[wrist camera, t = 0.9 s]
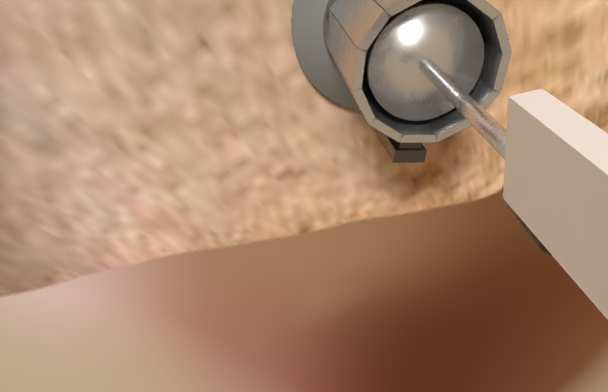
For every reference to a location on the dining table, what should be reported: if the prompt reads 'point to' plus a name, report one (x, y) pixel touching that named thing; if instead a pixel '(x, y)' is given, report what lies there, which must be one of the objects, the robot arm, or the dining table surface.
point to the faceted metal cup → (352, 65)
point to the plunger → (433, 70)
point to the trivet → (318, 52)
